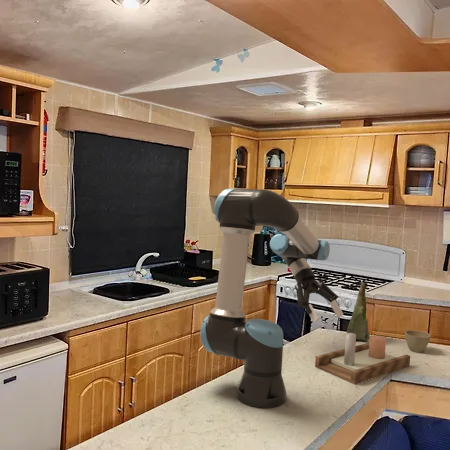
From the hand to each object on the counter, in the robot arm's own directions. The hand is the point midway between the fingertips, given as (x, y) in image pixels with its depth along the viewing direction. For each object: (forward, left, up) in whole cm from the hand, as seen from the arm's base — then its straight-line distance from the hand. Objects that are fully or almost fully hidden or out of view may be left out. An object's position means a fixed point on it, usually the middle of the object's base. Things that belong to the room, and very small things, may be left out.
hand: (329, 318), depth 180 cm
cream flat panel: (+14, +3, -15) cm, 21 cm away
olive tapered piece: (+7, +35, -17) cm, 39 cm away
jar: (+17, +8, -14) cm, 24 cm away
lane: (+13, +1, -17) cm, 21 cm away
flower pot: (+31, +31, -17) cm, 47 cm away
